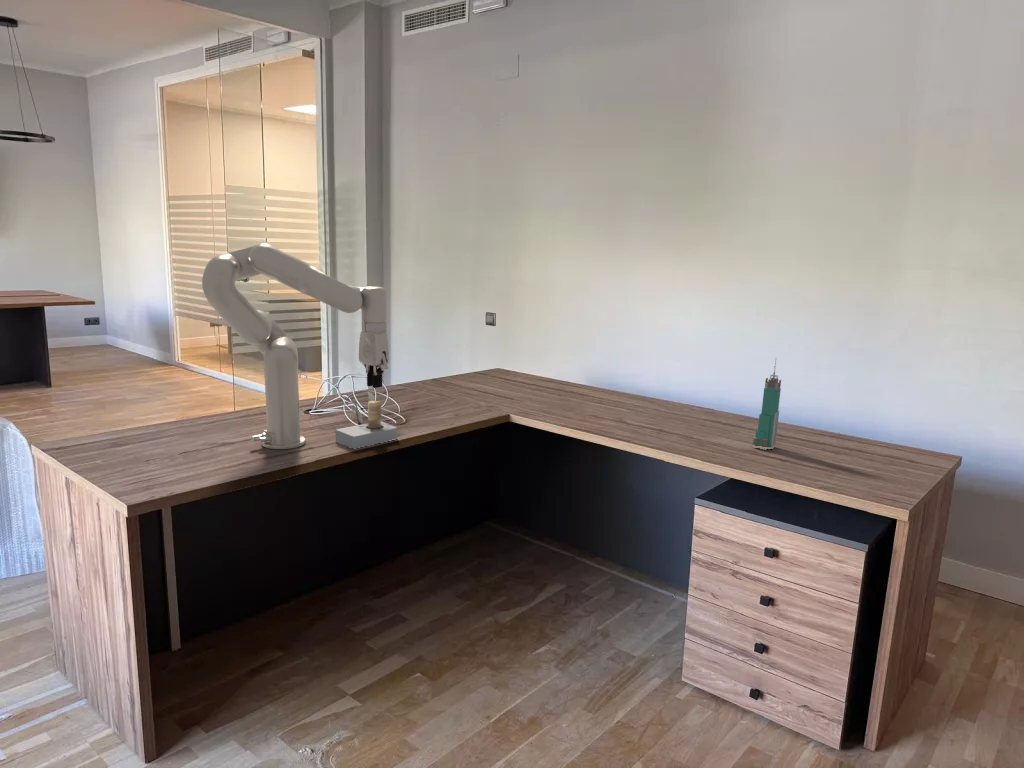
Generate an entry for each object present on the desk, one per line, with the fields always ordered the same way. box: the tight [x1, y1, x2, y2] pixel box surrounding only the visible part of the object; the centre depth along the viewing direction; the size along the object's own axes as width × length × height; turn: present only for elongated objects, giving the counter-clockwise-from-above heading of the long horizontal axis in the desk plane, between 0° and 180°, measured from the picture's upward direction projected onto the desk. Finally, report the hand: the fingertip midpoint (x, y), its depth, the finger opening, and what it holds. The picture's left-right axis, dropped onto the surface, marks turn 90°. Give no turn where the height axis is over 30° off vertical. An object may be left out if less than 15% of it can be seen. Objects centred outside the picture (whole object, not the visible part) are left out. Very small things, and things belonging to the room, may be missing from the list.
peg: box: [367, 400, 382, 429], centre depth 221 cm, size 4×4×12 cm
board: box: [335, 421, 398, 449], centre depth 219 cm, size 16×10×4 cm, turn 135°
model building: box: [355, 391, 376, 425], centre depth 248 cm, size 7×7×25 cm
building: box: [752, 359, 782, 447], centre depth 224 cm, size 6×6×30 cm
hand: (374, 386), depth 218 cm, fingers closed
